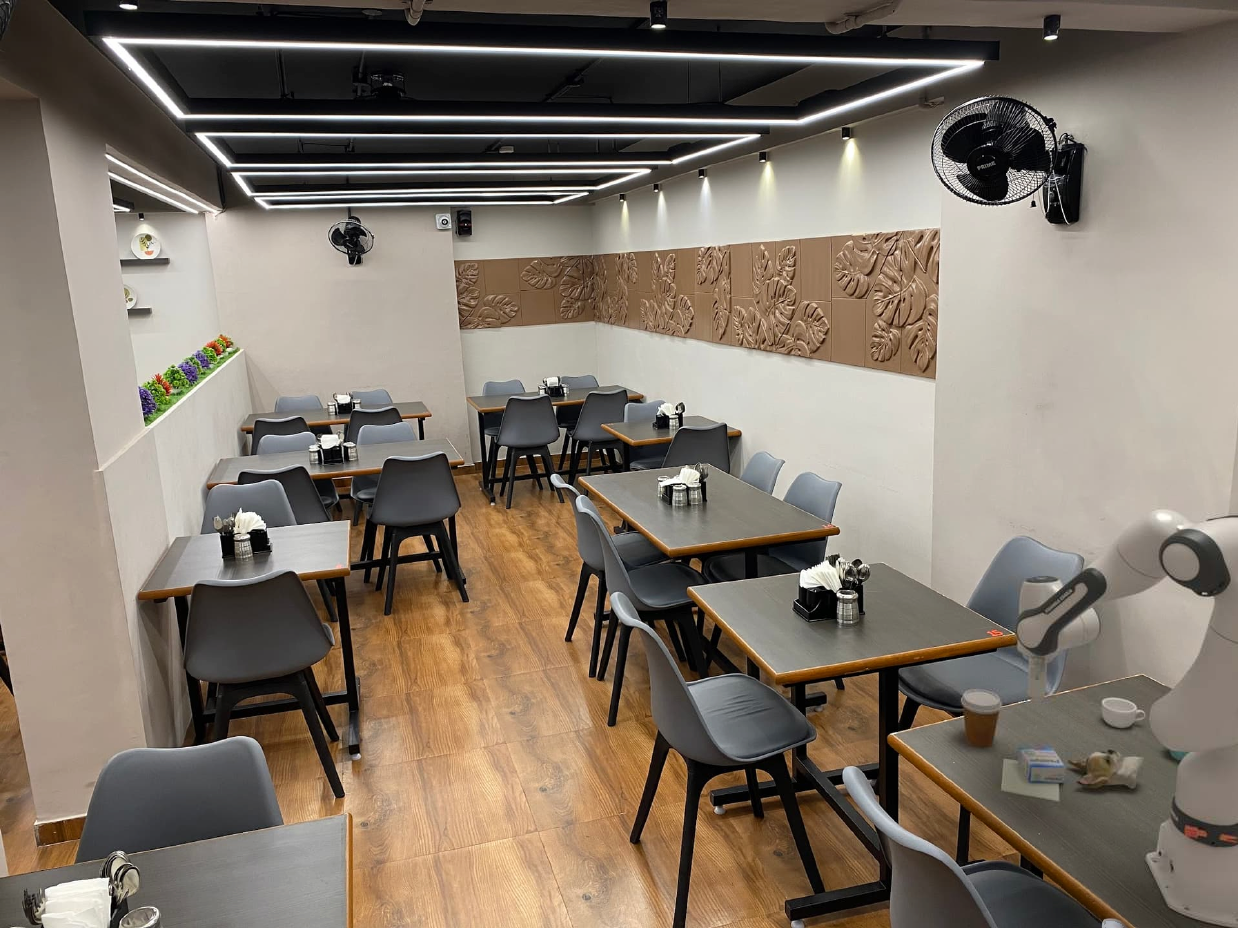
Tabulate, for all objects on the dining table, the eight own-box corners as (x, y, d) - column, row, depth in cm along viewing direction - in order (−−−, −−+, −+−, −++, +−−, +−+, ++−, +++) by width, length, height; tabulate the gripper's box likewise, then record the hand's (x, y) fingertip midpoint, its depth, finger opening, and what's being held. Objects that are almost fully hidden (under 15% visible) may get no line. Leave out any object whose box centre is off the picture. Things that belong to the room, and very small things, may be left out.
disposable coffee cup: (983, 754, 220) (985, 710, 217) (951, 738, 228) (952, 695, 225) (1008, 743, 225) (1010, 699, 222) (976, 727, 233) (978, 684, 230)
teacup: (1102, 729, 229) (1104, 709, 228) (1098, 714, 236) (1099, 695, 235) (1147, 734, 226) (1149, 714, 224) (1141, 719, 233) (1143, 700, 231)
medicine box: (1052, 746, 214) (1066, 766, 205) (1051, 763, 215) (1065, 783, 206) (1017, 746, 215) (1030, 766, 206) (1016, 763, 216) (1029, 783, 207)
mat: (1059, 801, 200) (1059, 800, 200) (1000, 790, 206) (1001, 789, 205) (1058, 769, 213) (1058, 767, 213) (1003, 759, 218) (1003, 758, 218)
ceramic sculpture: (1151, 763, 198) (1076, 760, 202) (1150, 799, 200) (1076, 795, 204) (1137, 739, 208) (1066, 736, 212) (1137, 773, 210) (1066, 770, 214)
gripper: (1053, 663, 196) (1050, 721, 198) (1053, 628, 214) (1050, 682, 216) (1022, 660, 198) (1019, 717, 201) (1024, 625, 216) (1022, 678, 219)
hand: (1035, 699), depth 209 cm, fingers closed
